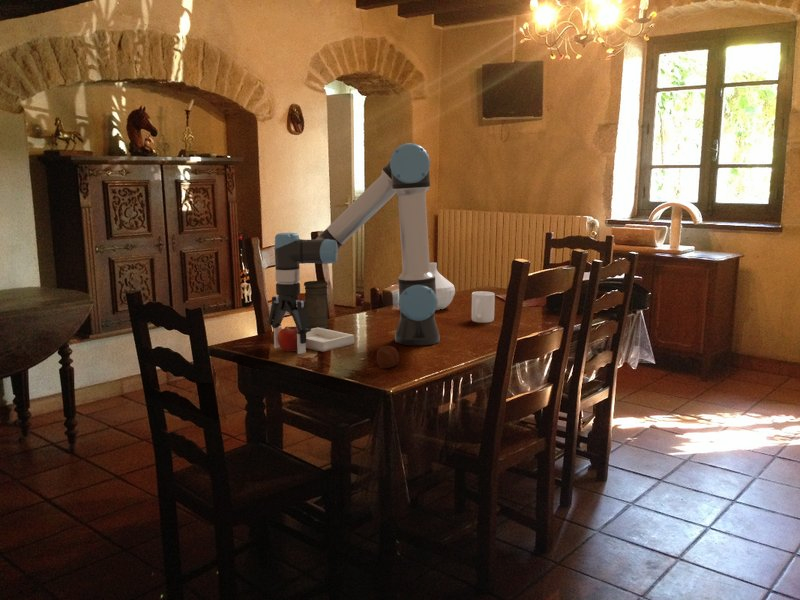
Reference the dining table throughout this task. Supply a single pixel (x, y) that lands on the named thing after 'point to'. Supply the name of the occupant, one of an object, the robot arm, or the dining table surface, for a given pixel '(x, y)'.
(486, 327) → the dining table surface
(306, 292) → the container
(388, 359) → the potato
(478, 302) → the mug
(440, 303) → the vase
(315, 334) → the dish
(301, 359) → the dining table surface
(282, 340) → the tomato
